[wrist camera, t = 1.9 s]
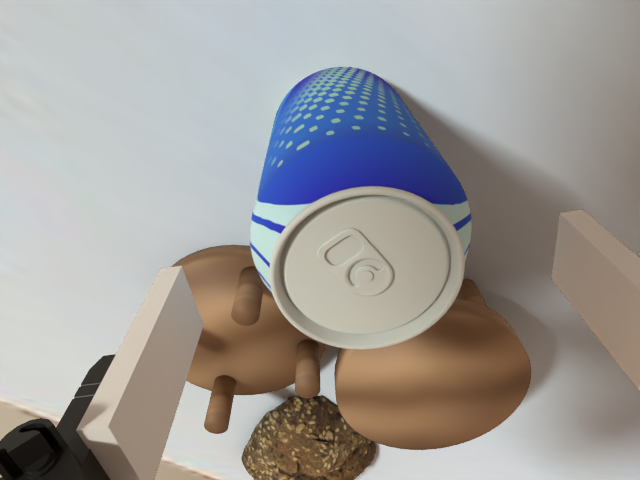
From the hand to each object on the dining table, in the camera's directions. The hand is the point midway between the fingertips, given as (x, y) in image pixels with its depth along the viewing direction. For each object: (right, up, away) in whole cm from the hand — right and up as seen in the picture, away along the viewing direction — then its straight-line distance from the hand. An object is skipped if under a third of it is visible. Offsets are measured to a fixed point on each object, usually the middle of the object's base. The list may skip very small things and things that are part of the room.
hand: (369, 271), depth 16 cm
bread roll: (-2, -19, +30) cm, 35 cm away
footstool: (+6, -7, +22) cm, 24 cm away
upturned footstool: (-8, -5, +21) cm, 23 cm away
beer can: (0, +8, +13) cm, 15 cm away
